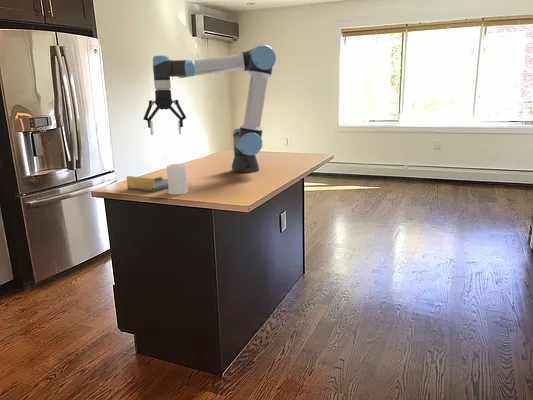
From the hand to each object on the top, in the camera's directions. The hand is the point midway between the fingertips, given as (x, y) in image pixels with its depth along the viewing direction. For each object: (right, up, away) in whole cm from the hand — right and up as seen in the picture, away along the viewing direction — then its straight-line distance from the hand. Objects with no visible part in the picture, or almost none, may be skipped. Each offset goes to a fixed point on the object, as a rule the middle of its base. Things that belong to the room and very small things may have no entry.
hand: (166, 134), depth 211 cm
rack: (-2, -26, -8) cm, 27 cm away
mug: (+11, -29, -21) cm, 37 cm away
